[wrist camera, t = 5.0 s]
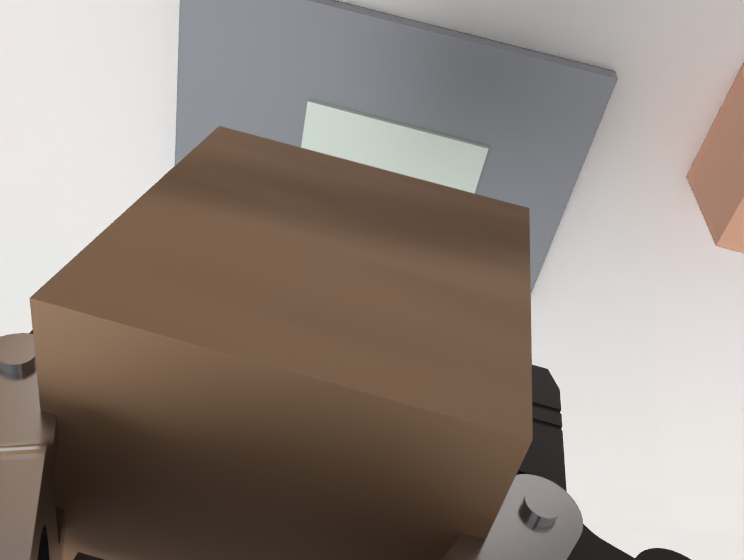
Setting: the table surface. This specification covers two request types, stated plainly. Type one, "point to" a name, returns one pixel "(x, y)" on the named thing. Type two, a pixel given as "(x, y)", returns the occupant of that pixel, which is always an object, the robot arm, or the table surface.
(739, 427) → the table surface
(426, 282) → the walnut block
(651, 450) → the table surface
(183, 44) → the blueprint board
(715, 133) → the terracotta block
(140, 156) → the table surface
